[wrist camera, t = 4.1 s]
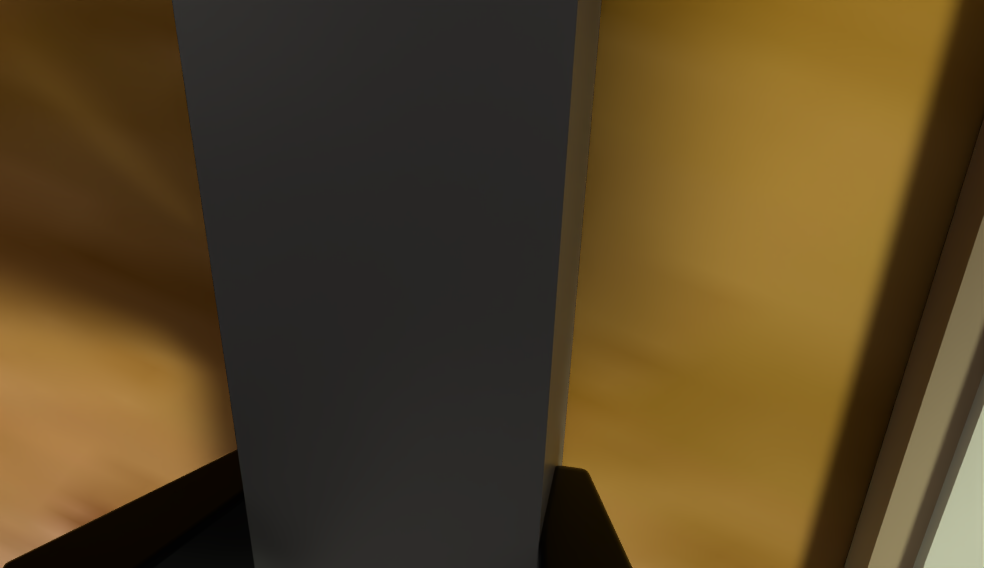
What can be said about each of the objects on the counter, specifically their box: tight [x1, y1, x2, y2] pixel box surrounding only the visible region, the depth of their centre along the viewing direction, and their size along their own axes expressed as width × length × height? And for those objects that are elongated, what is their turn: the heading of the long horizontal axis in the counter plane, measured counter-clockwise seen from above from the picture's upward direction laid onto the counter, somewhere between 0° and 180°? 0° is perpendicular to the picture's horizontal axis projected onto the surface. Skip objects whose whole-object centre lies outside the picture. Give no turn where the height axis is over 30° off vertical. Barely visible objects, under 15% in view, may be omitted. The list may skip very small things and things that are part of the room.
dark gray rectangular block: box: [172, 0, 602, 568], centre depth 8 cm, size 3×12×3 cm, turn 179°
